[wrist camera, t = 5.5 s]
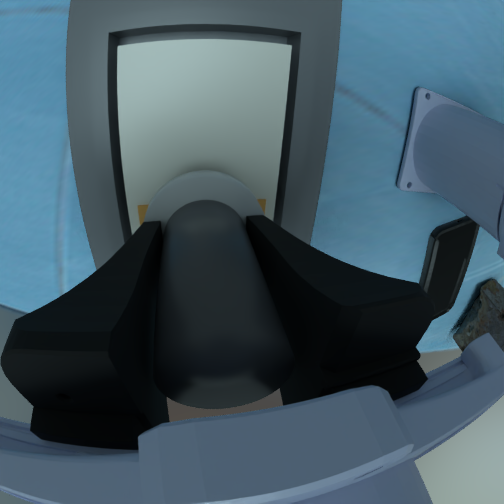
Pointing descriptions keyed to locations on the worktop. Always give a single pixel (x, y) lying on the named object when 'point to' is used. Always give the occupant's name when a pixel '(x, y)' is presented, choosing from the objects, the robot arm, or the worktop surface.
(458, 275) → the phone
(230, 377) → the dark round-ended cylinder
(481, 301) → the geological specimen
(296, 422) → the robot arm
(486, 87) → the worktop surface
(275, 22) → the switch panel
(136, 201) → the rocker switch
